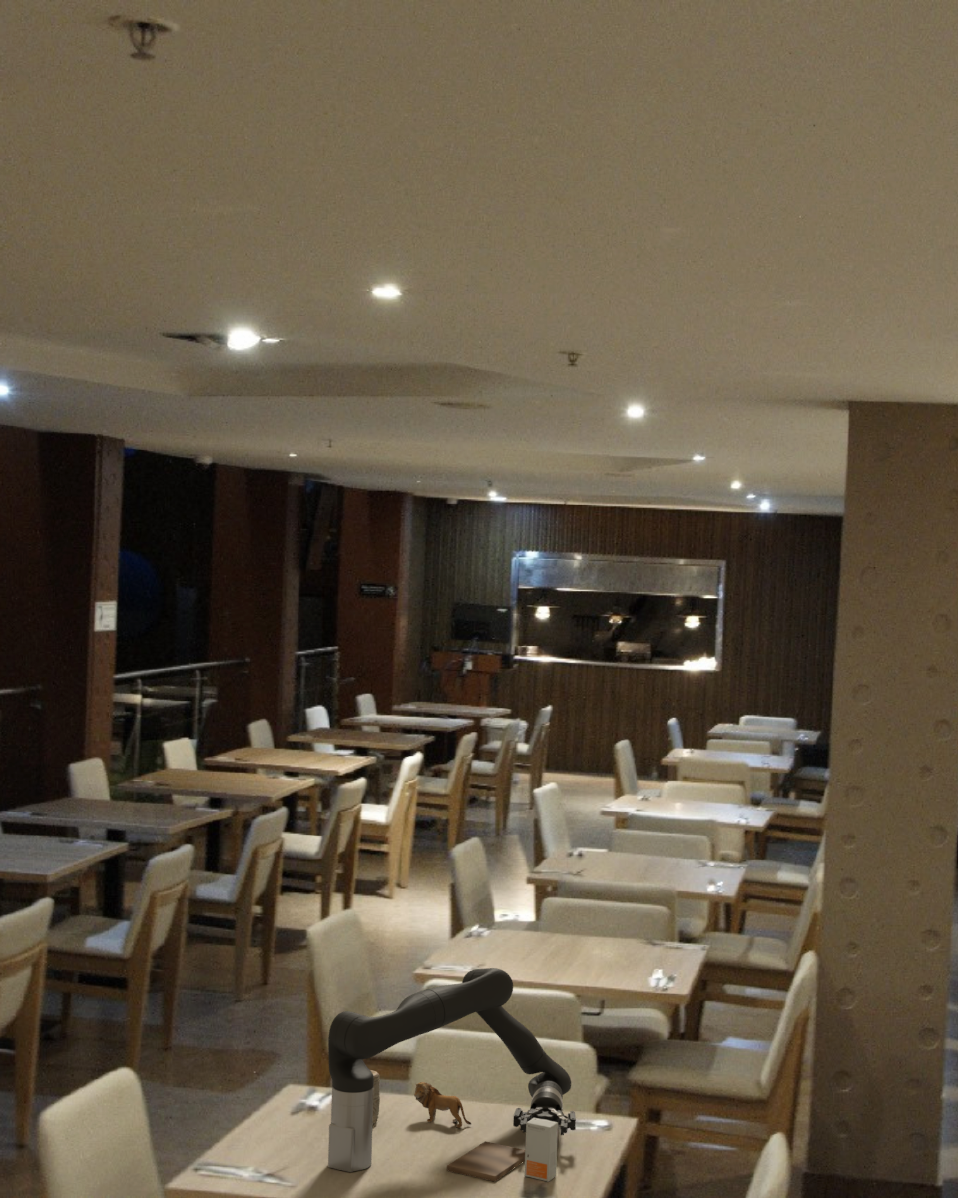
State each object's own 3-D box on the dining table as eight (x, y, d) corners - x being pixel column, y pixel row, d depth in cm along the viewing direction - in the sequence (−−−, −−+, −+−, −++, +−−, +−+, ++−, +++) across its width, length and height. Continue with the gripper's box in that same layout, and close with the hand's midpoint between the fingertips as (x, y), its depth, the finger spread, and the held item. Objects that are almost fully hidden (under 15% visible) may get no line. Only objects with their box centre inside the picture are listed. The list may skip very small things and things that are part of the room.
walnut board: (495, 1181, 339) (495, 1176, 339) (446, 1171, 345) (447, 1165, 345) (531, 1156, 355) (532, 1151, 355) (485, 1146, 361) (485, 1141, 361)
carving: (384, 1121, 377) (386, 1071, 377) (366, 1129, 370) (368, 1079, 370) (363, 1115, 380) (364, 1066, 380) (344, 1124, 373) (346, 1074, 373)
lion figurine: (410, 1121, 377) (411, 1084, 377) (418, 1115, 382) (419, 1078, 382) (467, 1130, 372) (469, 1092, 372) (475, 1123, 377) (476, 1085, 377)
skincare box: (523, 1177, 343) (525, 1122, 343) (532, 1171, 346) (533, 1116, 346) (548, 1182, 340) (550, 1127, 340) (557, 1176, 344) (558, 1122, 344)
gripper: (516, 1089, 370) (512, 1111, 354) (577, 1092, 369) (575, 1115, 352) (516, 1121, 370) (511, 1144, 354) (576, 1124, 369) (574, 1148, 352)
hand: (543, 1129), depth 353 cm, fingers open, 8 cm apart
